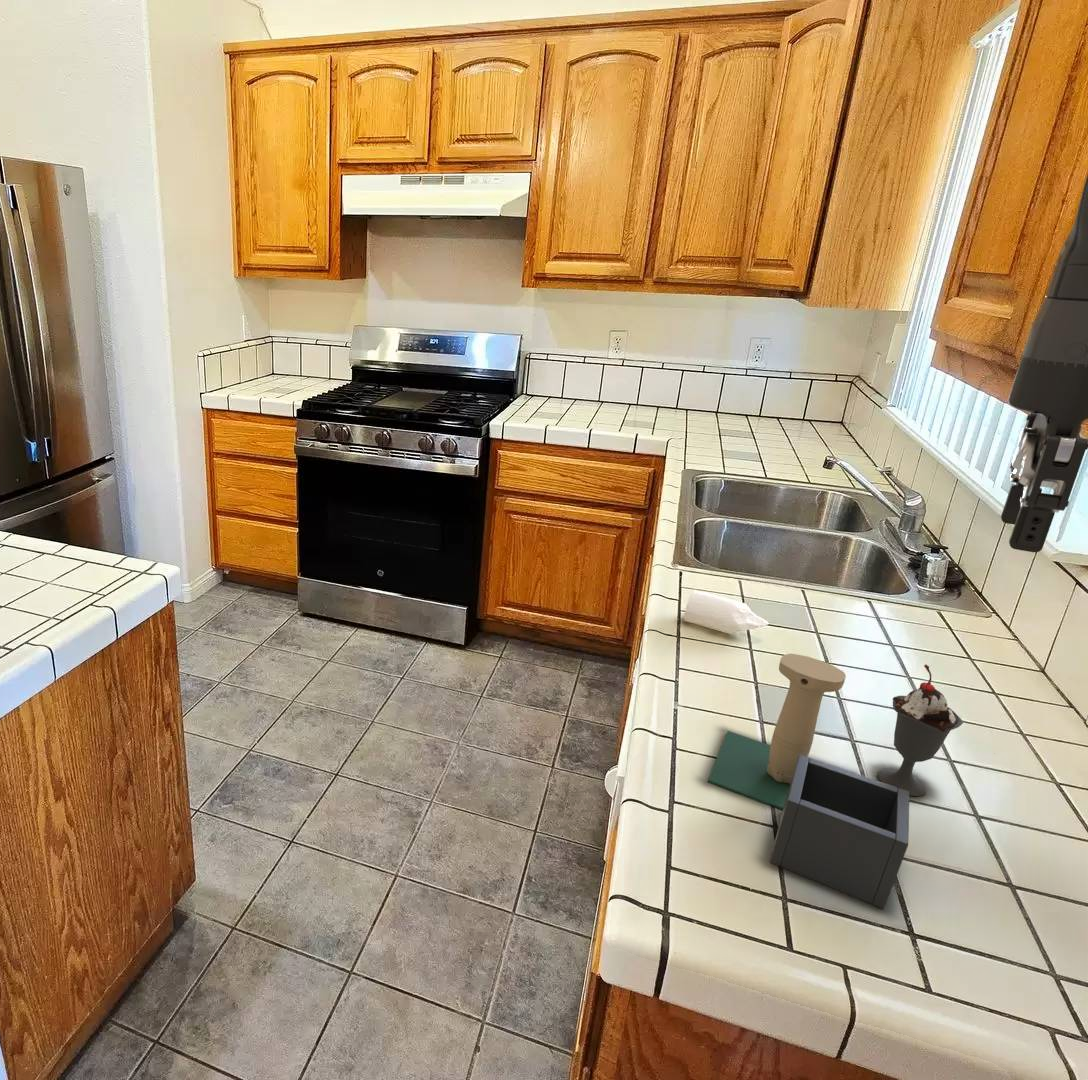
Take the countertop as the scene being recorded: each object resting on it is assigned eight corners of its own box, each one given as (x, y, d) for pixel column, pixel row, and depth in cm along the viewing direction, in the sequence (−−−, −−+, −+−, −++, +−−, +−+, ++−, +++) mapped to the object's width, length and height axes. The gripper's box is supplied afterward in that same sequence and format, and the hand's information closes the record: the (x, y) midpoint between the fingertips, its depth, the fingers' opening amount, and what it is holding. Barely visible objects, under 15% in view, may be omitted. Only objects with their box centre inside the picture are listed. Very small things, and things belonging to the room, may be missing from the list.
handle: (804, 799, 86) (838, 687, 81) (746, 772, 90) (775, 664, 85) (817, 780, 89) (850, 670, 84) (760, 755, 93) (788, 649, 88)
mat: (851, 774, 91) (852, 772, 91) (843, 833, 82) (844, 831, 82) (727, 732, 98) (727, 730, 98) (707, 781, 89) (707, 779, 89)
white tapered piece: (758, 650, 119) (766, 618, 117) (681, 626, 126) (687, 595, 124) (767, 636, 123) (775, 606, 121) (692, 613, 130) (699, 584, 128)
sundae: (881, 757, 94) (917, 652, 89) (943, 787, 89) (986, 678, 84) (858, 777, 91) (894, 669, 85) (922, 809, 86) (964, 697, 80)
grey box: (887, 852, 79) (909, 791, 76) (884, 909, 72) (908, 844, 69) (781, 812, 84) (799, 753, 81) (769, 862, 77) (787, 800, 75)
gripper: (1163, 369, 56) (1086, 570, 62) (1123, 351, 67) (1060, 523, 73) (1032, 360, 60) (971, 550, 66) (1015, 345, 71) (964, 508, 77)
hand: (1018, 536), depth 69 cm, fingers open, 8 cm apart
